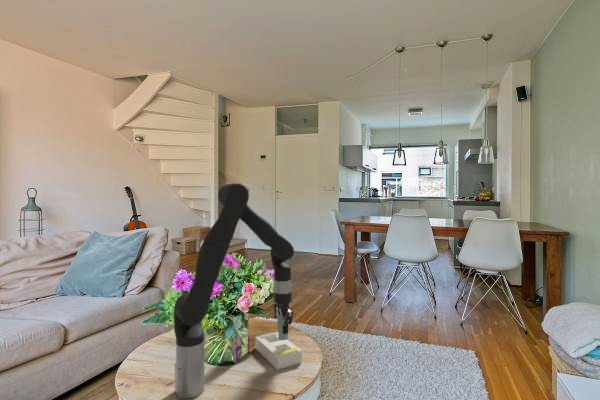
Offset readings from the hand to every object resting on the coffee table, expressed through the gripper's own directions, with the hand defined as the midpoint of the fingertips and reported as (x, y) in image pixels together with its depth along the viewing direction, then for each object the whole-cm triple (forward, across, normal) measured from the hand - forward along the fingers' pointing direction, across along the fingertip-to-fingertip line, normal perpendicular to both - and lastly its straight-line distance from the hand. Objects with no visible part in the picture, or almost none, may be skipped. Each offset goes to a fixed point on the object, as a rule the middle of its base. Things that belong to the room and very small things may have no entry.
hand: (283, 331), depth 139 cm
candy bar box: (+12, -12, -15) cm, 23 cm away
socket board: (+12, -5, 0) cm, 13 cm away
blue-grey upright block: (+3, 0, 0) cm, 3 cm away
